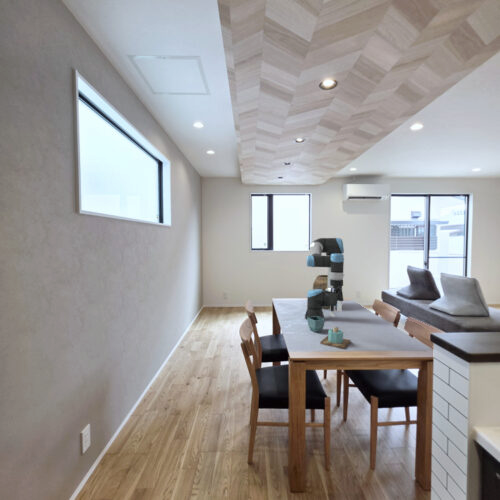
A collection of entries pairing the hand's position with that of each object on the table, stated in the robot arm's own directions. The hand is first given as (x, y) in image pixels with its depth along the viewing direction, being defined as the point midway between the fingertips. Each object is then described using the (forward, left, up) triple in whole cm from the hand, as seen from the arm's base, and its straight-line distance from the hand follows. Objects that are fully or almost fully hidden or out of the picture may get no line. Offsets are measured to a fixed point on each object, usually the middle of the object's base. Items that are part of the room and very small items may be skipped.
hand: (336, 313), depth 164 cm
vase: (-34, +83, -18) cm, 91 cm away
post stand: (0, 0, -18) cm, 18 cm away
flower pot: (-18, +14, -18) cm, 29 cm away
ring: (0, 0, -17) cm, 17 cm away
